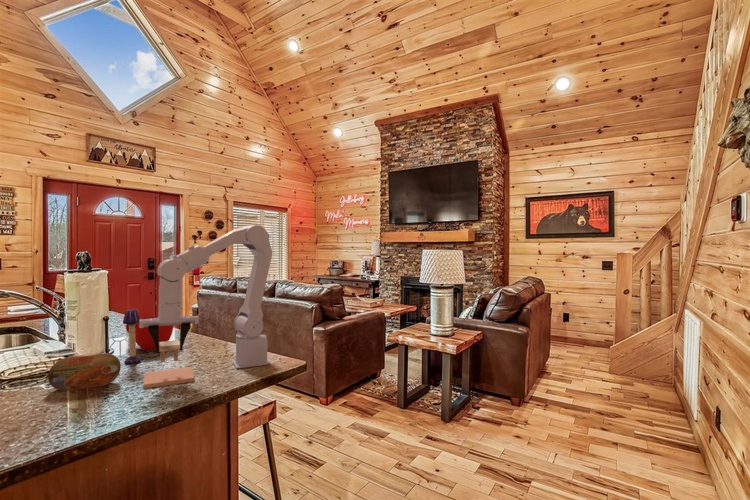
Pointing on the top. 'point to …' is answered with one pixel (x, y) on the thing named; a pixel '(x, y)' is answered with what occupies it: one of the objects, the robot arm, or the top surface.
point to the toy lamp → (132, 335)
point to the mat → (168, 377)
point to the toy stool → (169, 346)
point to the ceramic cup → (145, 338)
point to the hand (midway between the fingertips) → (169, 351)
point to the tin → (84, 371)
